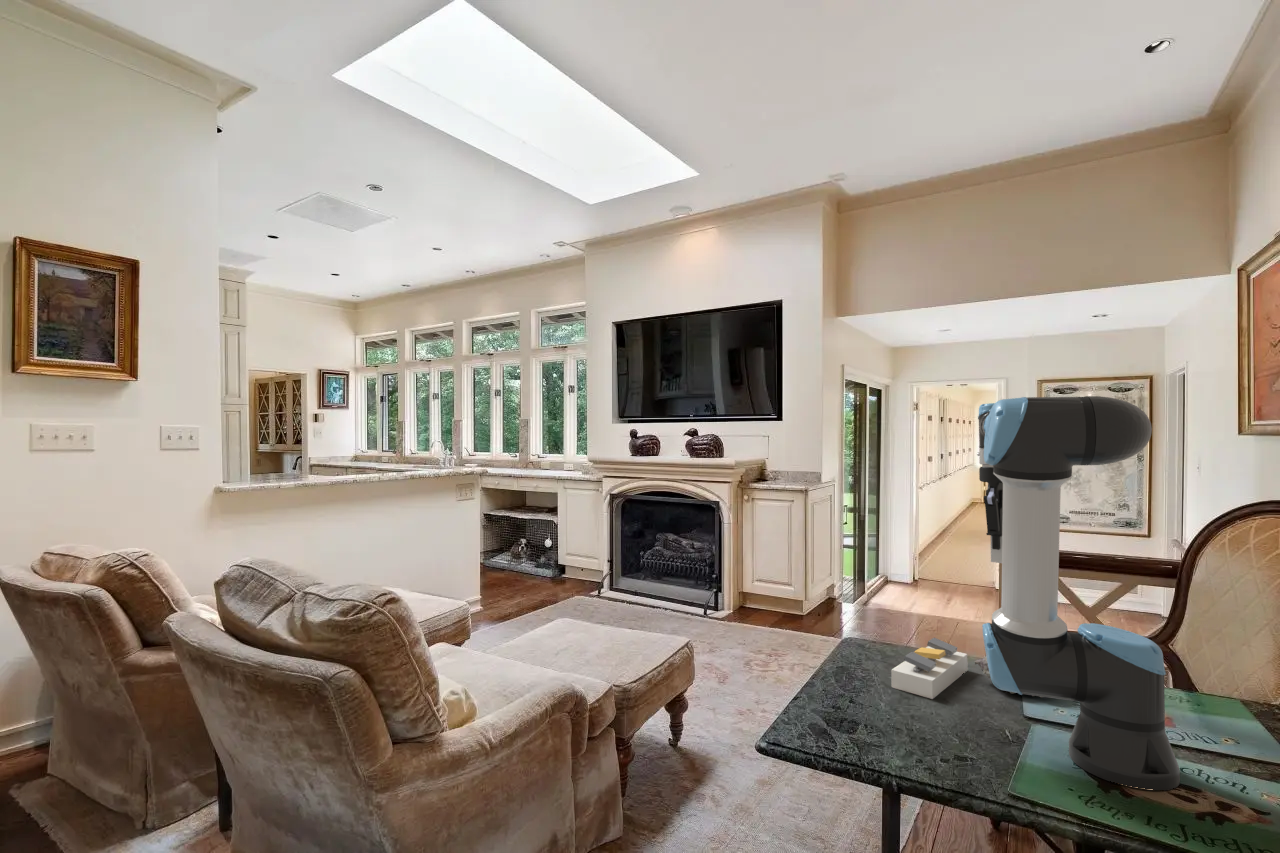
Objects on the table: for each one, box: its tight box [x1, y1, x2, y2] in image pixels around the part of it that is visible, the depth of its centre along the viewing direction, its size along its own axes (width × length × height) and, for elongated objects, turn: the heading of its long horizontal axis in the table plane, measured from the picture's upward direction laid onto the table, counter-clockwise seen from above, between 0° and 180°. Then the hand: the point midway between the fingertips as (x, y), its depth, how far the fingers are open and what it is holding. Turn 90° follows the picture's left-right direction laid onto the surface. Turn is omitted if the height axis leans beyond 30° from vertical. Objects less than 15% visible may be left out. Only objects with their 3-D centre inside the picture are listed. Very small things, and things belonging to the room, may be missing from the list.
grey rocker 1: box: [903, 651, 936, 672], centre depth 141 cm, size 6×4×1 cm
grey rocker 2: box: [926, 637, 958, 656], centre depth 150 cm, size 6×4×1 cm
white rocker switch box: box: [890, 646, 968, 700], centre depth 147 cm, size 9×28×5 cm, turn 135°
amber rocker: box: [913, 646, 946, 659], centre depth 146 cm, size 6×4×1 cm
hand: (997, 562), depth 151 cm, fingers closed
